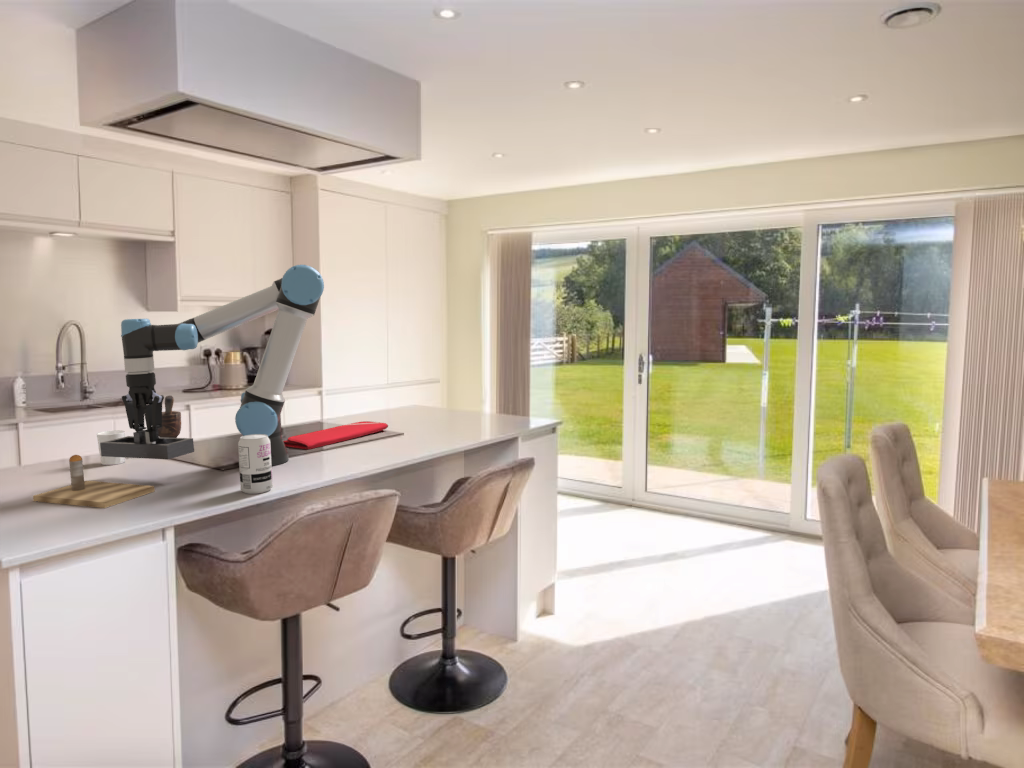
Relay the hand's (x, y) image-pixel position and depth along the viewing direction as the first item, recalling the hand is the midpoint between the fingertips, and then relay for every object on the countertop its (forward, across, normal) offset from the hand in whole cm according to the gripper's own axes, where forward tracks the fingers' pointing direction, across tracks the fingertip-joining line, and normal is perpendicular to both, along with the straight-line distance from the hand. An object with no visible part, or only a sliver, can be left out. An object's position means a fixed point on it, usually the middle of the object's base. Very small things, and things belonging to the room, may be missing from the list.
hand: (148, 452), depth 202 cm
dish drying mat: (+10, -20, -69) cm, 73 cm away
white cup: (+8, +30, -15) cm, 34 cm away
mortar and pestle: (+8, +26, -36) cm, 45 cm away
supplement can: (+9, -38, +2) cm, 40 cm away
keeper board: (+8, 0, +18) cm, 20 cm away
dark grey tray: (0, 0, 0) cm, 0 cm away
